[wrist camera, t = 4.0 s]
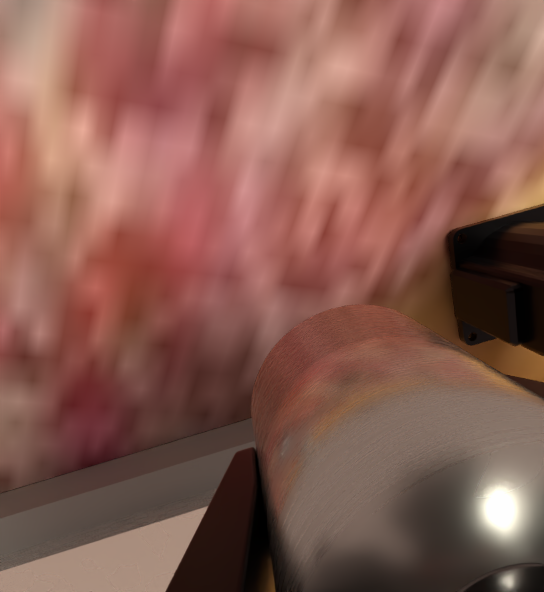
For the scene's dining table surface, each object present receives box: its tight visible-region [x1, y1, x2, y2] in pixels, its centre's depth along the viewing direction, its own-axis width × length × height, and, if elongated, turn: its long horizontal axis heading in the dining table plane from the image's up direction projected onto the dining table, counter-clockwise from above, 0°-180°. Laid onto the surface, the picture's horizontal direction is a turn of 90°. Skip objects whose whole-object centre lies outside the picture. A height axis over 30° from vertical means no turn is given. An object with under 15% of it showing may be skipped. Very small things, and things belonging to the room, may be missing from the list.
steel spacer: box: [251, 305, 544, 592], centre depth 7 cm, size 5×5×5 cm
